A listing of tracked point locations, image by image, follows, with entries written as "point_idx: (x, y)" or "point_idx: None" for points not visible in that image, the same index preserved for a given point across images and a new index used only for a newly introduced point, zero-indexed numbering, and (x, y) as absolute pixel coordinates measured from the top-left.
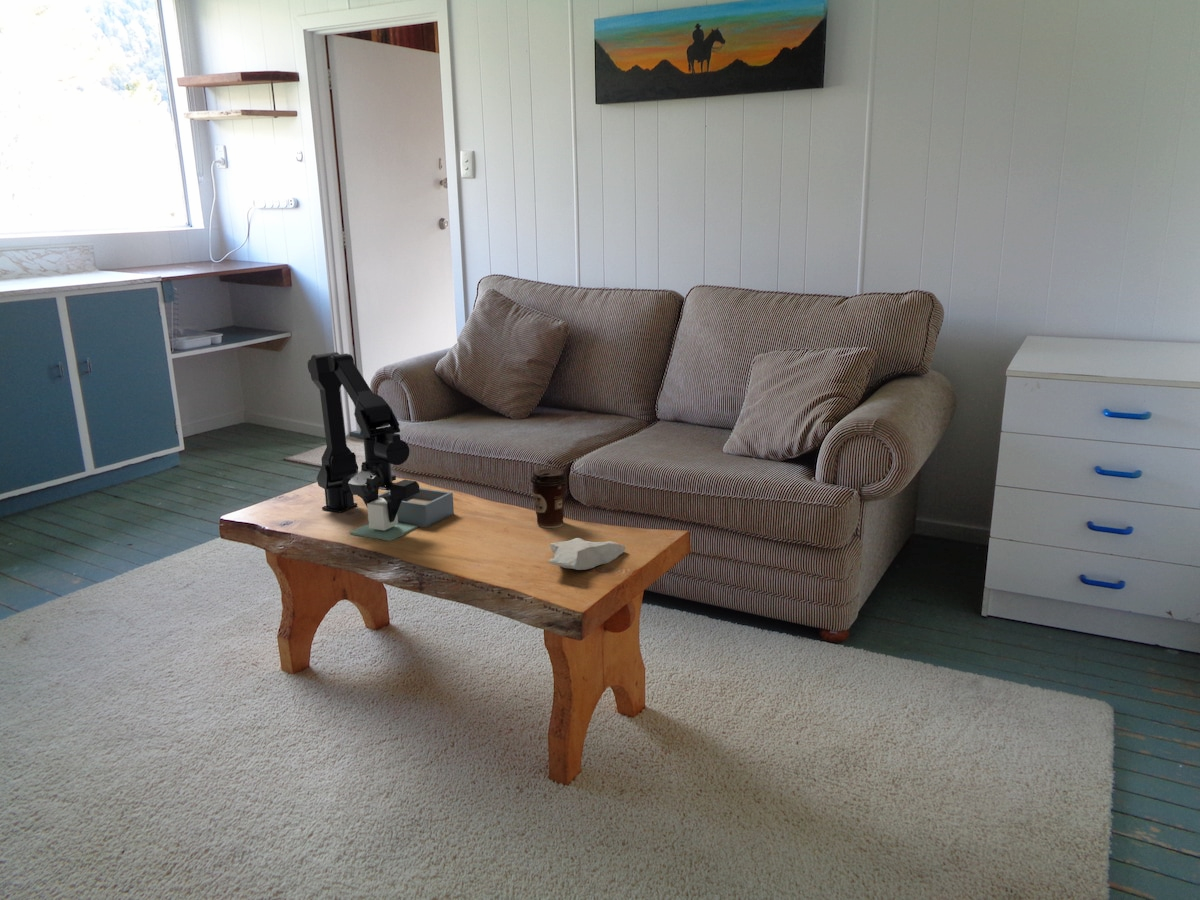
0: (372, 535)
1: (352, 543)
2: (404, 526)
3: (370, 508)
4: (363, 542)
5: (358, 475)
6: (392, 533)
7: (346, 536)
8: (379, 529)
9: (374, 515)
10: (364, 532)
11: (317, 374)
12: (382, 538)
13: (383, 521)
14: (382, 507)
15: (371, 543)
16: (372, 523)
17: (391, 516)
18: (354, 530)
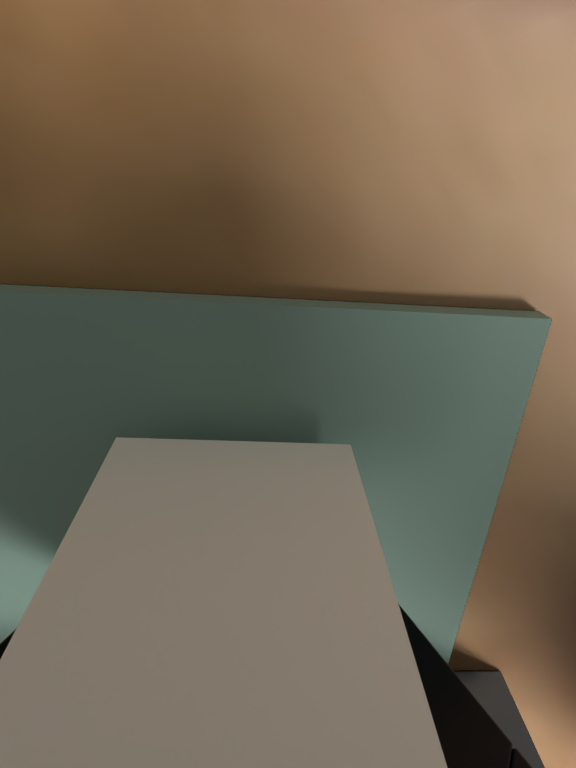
0: (207, 313)
1: (325, 6)
2: None
3: (340, 697)
4: (202, 109)
5: None
6: (41, 445)
7: (546, 230)
8: (192, 441)
9: (248, 577)
10: (367, 364)
11: None
12: (37, 289)
13: (81, 516)
14: None
15: (71, 113)
16: (300, 483)
17: (2, 644)
18: (519, 377)
